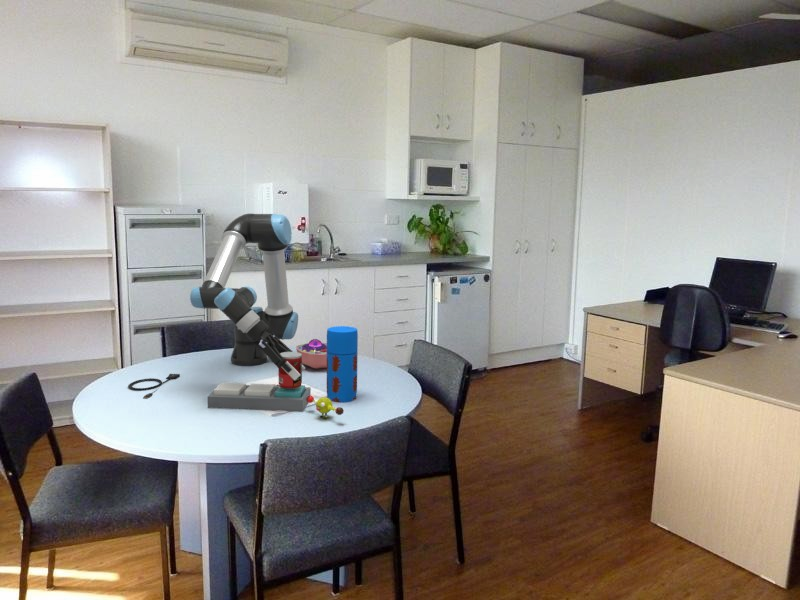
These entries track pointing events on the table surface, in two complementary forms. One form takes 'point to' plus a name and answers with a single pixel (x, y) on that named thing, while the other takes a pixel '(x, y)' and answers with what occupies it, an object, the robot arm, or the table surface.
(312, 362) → the cell model
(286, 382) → the canned food
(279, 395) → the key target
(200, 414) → the table surface
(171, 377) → the cable
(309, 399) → the toy figure
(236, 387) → the key near
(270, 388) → the key middle
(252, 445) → the table surface
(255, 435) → the table surface
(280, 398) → the keypad frame
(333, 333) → the thermos
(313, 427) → the table surface
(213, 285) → the robot arm
